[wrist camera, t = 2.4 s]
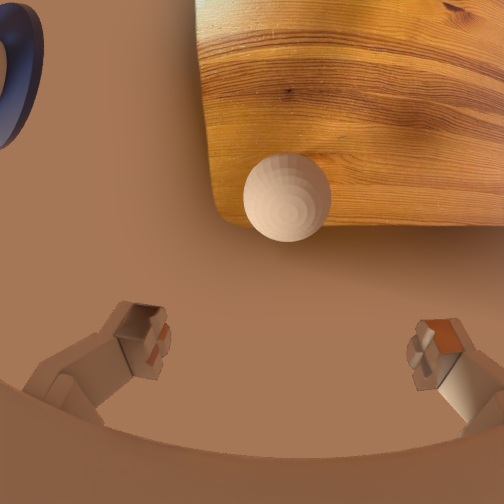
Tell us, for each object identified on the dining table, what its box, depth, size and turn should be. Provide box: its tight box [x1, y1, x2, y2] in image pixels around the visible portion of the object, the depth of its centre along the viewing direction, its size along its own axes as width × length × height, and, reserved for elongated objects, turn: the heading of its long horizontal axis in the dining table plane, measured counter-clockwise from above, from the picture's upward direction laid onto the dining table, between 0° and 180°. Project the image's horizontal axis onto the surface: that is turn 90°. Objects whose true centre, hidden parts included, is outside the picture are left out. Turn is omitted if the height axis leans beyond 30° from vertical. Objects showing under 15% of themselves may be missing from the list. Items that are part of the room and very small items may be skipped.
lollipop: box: [243, 152, 331, 242], centre depth 24 cm, size 6×6×15 cm
